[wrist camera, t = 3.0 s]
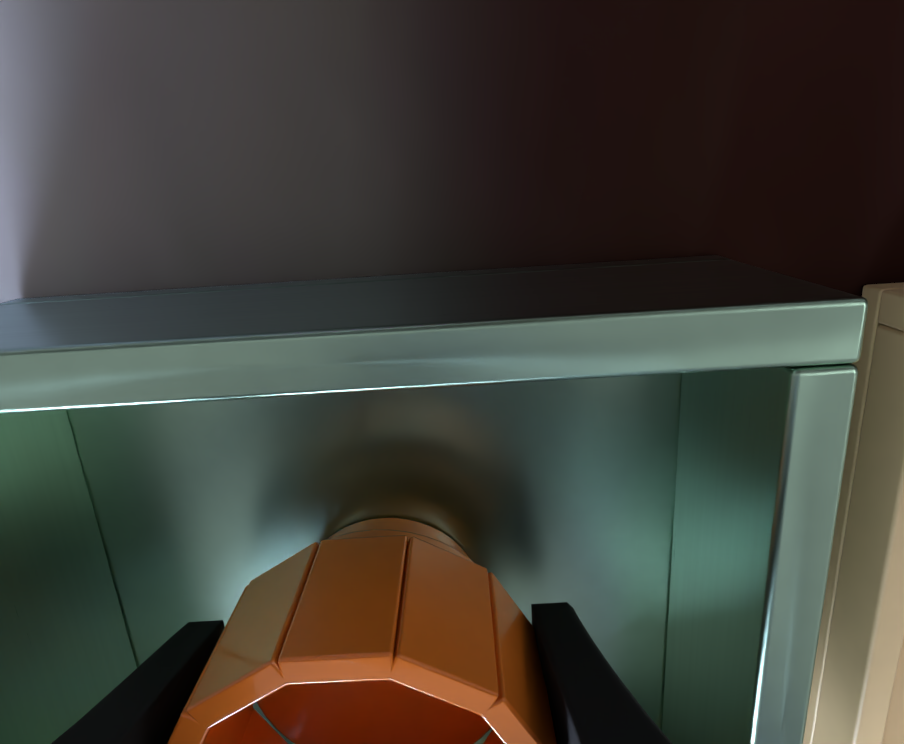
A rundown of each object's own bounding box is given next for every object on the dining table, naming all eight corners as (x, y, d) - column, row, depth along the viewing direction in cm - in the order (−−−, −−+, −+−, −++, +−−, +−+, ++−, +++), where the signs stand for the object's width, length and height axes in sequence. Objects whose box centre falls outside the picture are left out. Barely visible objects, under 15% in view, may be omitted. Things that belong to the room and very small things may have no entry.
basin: (681, 784, 14) (766, 1008, 11) (161, 809, 15) (56, 1036, 11) (718, 254, 11) (873, 296, 7) (16, 298, 11) (-227, 364, 7)
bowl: (527, 692, 13) (564, 948, 9) (280, 704, 13) (195, 964, 9) (520, 467, 11) (562, 644, 7) (238, 484, 11) (108, 668, 7)
